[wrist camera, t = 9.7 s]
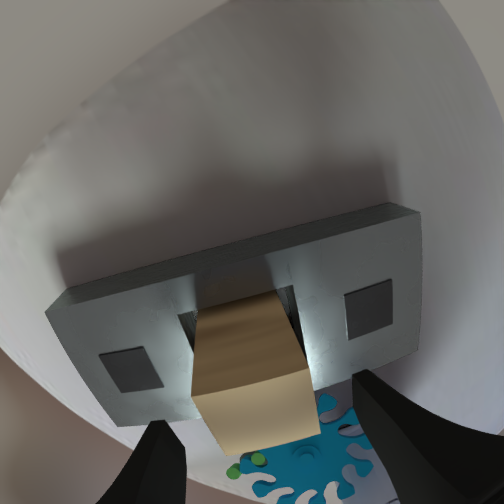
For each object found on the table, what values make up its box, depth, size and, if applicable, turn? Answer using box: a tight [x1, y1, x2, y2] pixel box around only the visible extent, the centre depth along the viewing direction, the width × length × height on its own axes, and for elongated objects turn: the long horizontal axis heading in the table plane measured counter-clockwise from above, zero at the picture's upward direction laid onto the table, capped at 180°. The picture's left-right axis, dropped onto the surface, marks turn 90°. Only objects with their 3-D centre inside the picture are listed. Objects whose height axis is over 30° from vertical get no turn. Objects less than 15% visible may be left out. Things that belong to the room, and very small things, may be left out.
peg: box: [191, 290, 321, 456], centre depth 13 cm, size 4×4×8 cm
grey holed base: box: [45, 203, 422, 427], centre depth 16 cm, size 9×20×3 cm, turn 104°
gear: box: [226, 393, 374, 504], centre depth 19 cm, size 11×6×10 cm
